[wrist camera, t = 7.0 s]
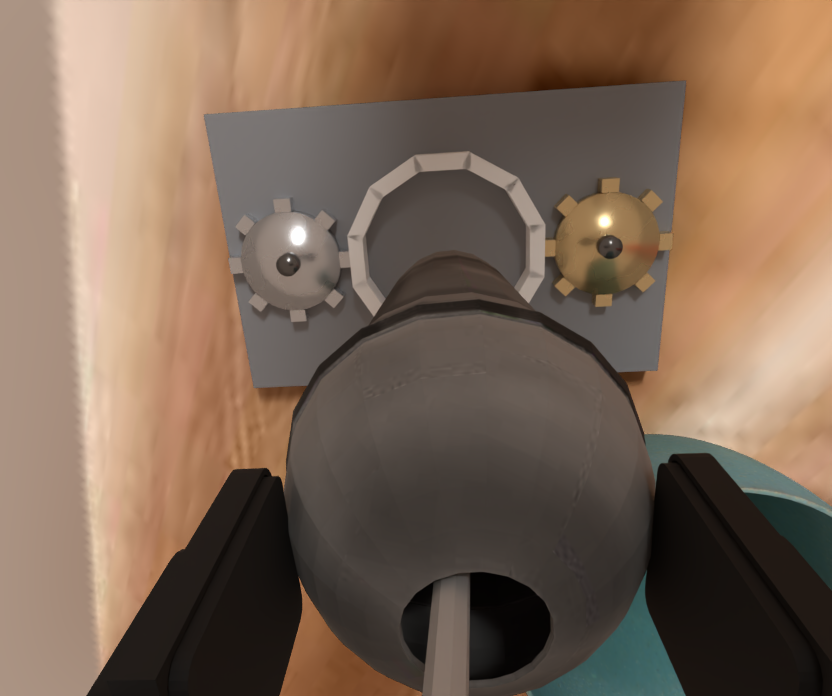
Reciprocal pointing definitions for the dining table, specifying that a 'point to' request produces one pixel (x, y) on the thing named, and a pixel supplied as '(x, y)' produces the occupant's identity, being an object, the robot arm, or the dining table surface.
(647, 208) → the gear
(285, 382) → the gear board
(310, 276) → the gear
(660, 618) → the robot arm
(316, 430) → the beverage cup
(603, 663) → the plant pot
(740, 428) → the dining table surface
